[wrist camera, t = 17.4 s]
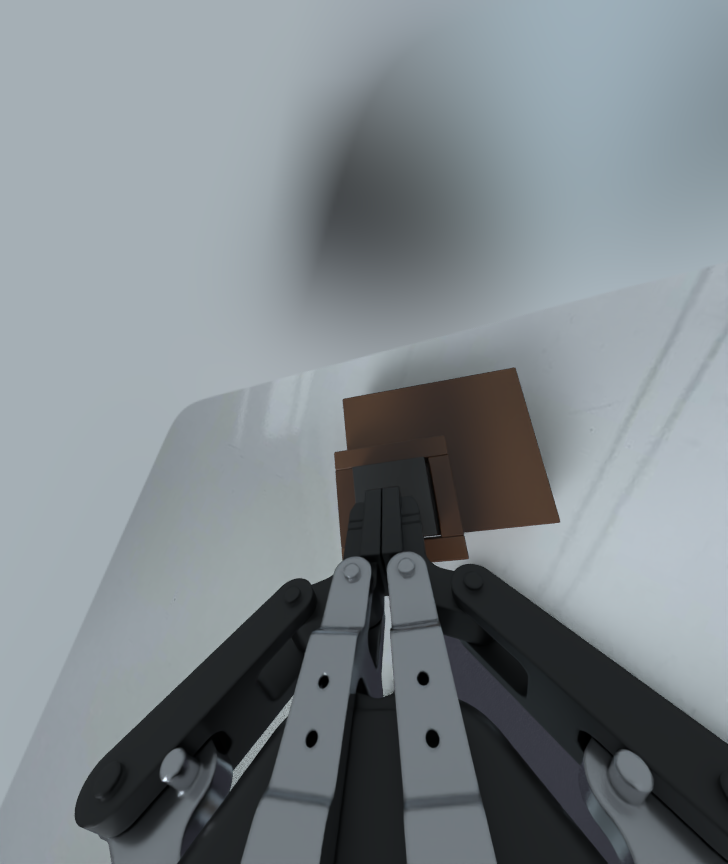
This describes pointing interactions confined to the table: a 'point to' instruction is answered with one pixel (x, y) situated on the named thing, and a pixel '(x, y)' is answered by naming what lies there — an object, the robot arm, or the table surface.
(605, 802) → the robot arm
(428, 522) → the ebony key
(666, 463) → the table surface
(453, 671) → the notebook
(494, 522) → the key block
